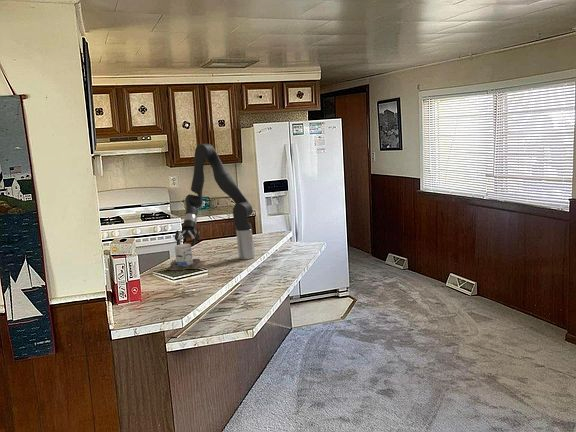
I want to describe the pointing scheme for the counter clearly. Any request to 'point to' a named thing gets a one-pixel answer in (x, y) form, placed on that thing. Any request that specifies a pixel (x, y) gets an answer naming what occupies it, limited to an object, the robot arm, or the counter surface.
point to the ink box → (183, 254)
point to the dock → (194, 265)
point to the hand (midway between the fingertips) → (185, 245)
